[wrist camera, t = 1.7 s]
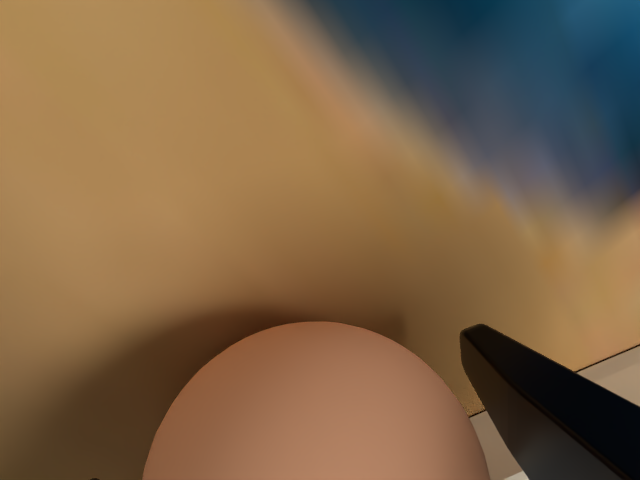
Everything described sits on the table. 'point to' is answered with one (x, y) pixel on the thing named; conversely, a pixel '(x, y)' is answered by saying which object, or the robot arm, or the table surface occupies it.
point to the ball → (316, 413)
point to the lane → (613, 374)
